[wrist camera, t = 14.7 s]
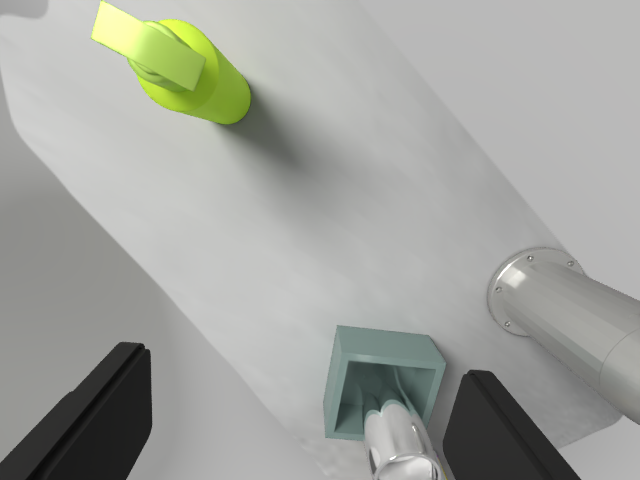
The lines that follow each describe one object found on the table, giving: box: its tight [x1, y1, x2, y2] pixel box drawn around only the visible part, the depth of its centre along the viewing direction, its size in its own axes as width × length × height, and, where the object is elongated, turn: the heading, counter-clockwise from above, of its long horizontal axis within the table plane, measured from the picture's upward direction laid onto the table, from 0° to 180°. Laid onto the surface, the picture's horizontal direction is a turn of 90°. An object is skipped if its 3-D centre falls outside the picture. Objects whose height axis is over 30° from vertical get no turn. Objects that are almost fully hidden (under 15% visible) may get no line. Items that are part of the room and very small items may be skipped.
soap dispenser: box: [91, 0, 251, 124], centre depth 25 cm, size 6×7×20 cm
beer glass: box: [354, 362, 441, 480], centre depth 37 cm, size 7×7×15 cm
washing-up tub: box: [323, 325, 446, 441], centre depth 43 cm, size 13×13×6 cm
